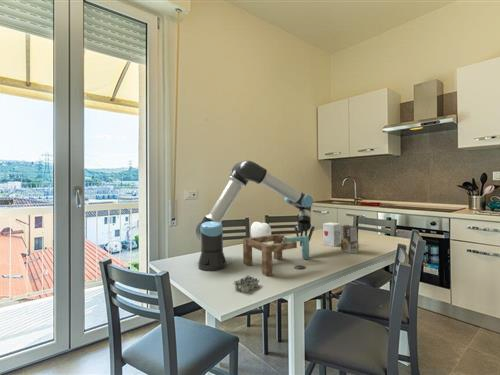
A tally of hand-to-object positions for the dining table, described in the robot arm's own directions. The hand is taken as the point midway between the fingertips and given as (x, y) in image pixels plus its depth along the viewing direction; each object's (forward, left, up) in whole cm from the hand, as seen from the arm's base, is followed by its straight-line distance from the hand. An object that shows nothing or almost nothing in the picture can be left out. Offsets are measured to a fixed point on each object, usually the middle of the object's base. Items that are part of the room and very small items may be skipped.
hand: (302, 250), depth 162 cm
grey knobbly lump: (-50, -23, -5) cm, 55 cm away
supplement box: (+39, +15, -4) cm, 42 cm away
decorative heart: (-6, +37, -4) cm, 38 cm away
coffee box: (+34, -5, -4) cm, 34 cm away
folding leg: (-7, -2, -3) cm, 8 cm away
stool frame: (-23, -4, -4) cm, 24 cm away
